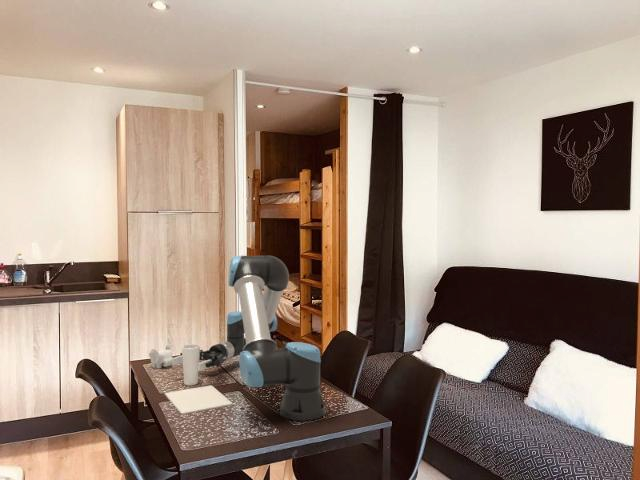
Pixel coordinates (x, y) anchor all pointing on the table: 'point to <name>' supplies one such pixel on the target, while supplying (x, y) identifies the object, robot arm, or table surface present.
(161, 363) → the elephant figurine
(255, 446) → the table surface
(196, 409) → the felt placemat
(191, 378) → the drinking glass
